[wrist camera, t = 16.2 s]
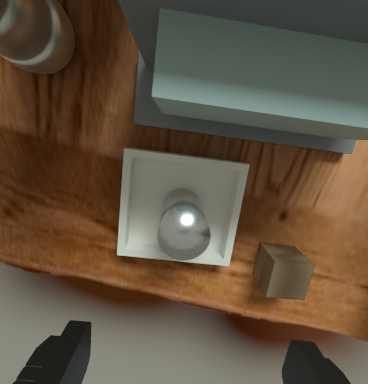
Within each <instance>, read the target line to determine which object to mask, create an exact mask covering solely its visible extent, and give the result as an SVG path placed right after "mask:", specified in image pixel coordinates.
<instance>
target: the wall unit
mask: <svg viewBox="0 0 368 384" xmlns="http://www.w3.org/2000/svg"><path fill="white" fill-rule="evenodd" d="M118 2H119V5H120V7H121V9H122V12H123V14H124V16H125V19H126V21H127V23H128V26H129V28H130V30H131V32H132V35H133V37H134V39H135V42H136V44H137V46H138V49H139V54H138V68H137V81H136V94H135V108H134V121H133V124H137V125H144V126H151V127H158V128H165V129H173V130H180V131H187V132H194V133H202V134H209V135H216V136H223V137H230V138H238V139H245V140H252V141H259V142H267V143H274V144H281V145H288V146H296V147H303V148H310V149H317V150H324V151H332V152H339V153H347V154H352V151H353V148H354V144H355V141H356V140H368V0H118Z"/></svg>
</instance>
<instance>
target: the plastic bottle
mask: <svg viewBox="0 0 368 384" xmlns="http://www.w3.org/2000/svg"><path fill="white" fill-rule="evenodd" d="M74 49H75V34H74V30H73V27H72V24H71V22H70V20H69V18H68V16H67V15H66V13H65V11H64V9H63V8H62V7H61V5H60V4H59V2H58V1H57V0H0V56H2V57H3V58H4V59H6V60H7V61H9V62H10V63H12V64H13V65H15V66H17V67H18V68H20V69H22V70H24V71H27V72H30V73H37V74H53V73H56V72H58V71H60V70H62V69H63V68H64V67H65V66H66V65H67V64H68V63H69V61H70V60H71V58H72V56H73V53H74Z"/></svg>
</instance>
